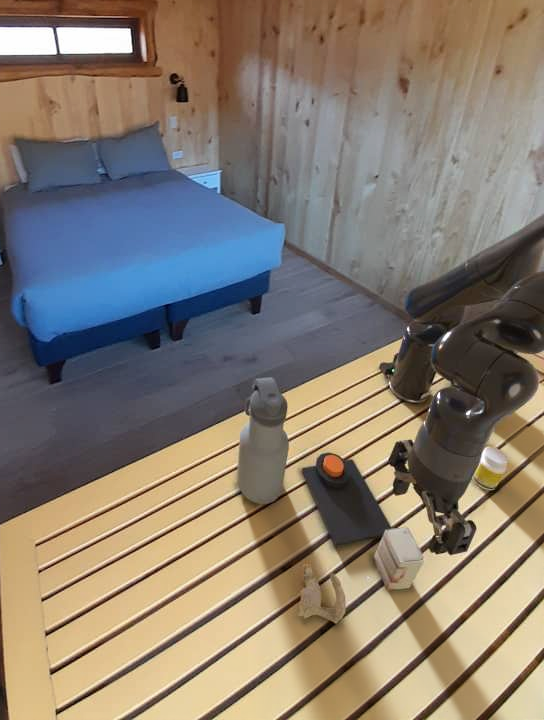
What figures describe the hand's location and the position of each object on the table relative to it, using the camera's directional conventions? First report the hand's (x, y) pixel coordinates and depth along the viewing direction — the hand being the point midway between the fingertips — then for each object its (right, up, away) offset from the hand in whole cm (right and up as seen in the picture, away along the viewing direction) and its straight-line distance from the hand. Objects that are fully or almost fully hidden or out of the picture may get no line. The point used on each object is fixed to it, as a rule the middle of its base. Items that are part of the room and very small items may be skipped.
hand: (415, 519), depth 64 cm
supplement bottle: (+28, -8, +23) cm, 37 cm away
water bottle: (-21, -8, +23) cm, 32 cm away
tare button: (-5, -5, +23) cm, 24 cm away
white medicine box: (0, -16, +8) cm, 18 cm away
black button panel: (-4, -10, +19) cm, 22 cm away
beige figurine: (-15, -18, +4) cm, 24 cm away
